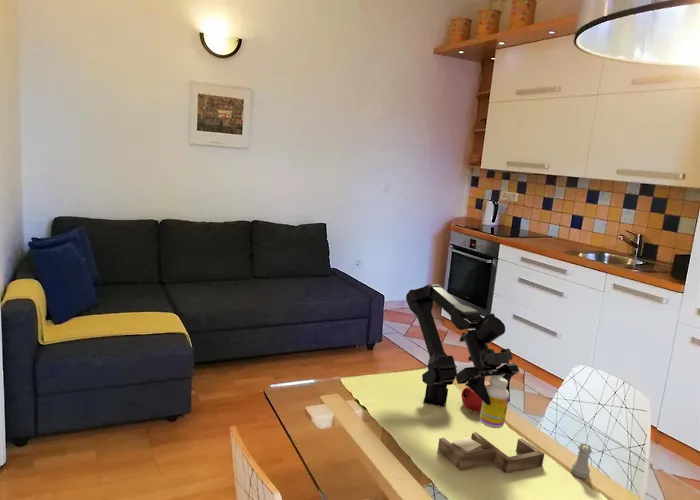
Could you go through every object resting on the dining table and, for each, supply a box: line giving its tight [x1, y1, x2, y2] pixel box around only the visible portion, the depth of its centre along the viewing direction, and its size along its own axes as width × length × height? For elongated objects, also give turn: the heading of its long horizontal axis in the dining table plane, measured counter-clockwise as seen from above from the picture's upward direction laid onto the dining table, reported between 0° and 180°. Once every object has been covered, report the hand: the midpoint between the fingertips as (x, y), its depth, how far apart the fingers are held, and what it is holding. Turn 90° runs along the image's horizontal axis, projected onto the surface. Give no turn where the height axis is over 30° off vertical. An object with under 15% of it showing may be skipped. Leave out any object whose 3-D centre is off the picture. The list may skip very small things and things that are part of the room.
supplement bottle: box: [479, 376, 509, 429], centre depth 144 cm, size 7×7×13 cm
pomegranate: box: [461, 384, 488, 413], centre depth 166 cm, size 10×10×9 cm
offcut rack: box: [437, 432, 545, 475], centre depth 137 cm, size 14×24×4 cm, turn 116°
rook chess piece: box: [570, 442, 593, 480], centre depth 134 cm, size 4×4×8 cm
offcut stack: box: [451, 436, 483, 454], centre depth 137 cm, size 6×7×4 cm
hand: (498, 403), depth 143 cm, fingers closed on supplement bottle, 7 cm apart
